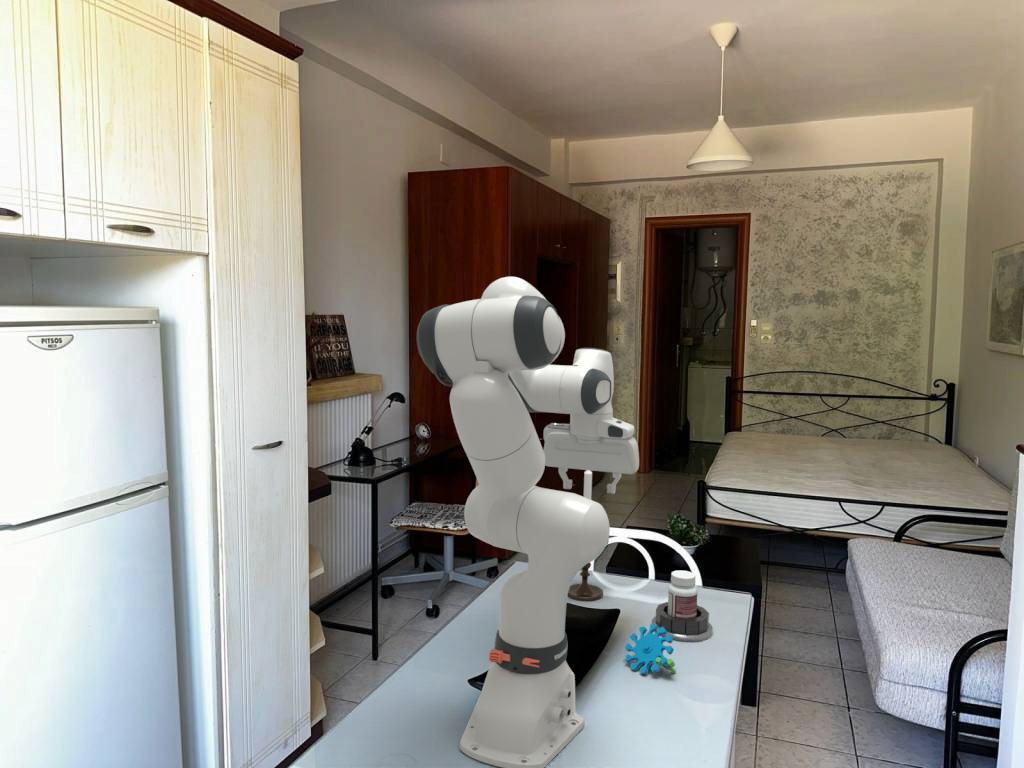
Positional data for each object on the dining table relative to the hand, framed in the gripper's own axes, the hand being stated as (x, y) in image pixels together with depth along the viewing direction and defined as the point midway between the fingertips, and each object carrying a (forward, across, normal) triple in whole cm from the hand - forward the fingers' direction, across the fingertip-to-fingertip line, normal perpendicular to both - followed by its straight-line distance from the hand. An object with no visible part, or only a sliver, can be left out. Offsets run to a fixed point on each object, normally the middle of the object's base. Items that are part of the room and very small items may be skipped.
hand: (589, 490), depth 151 cm
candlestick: (+31, -6, +22) cm, 39 cm away
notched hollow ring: (+31, +19, +11) cm, 38 cm away
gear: (+31, +16, -10) cm, 37 cm away
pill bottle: (+30, +19, +11) cm, 37 cm away
